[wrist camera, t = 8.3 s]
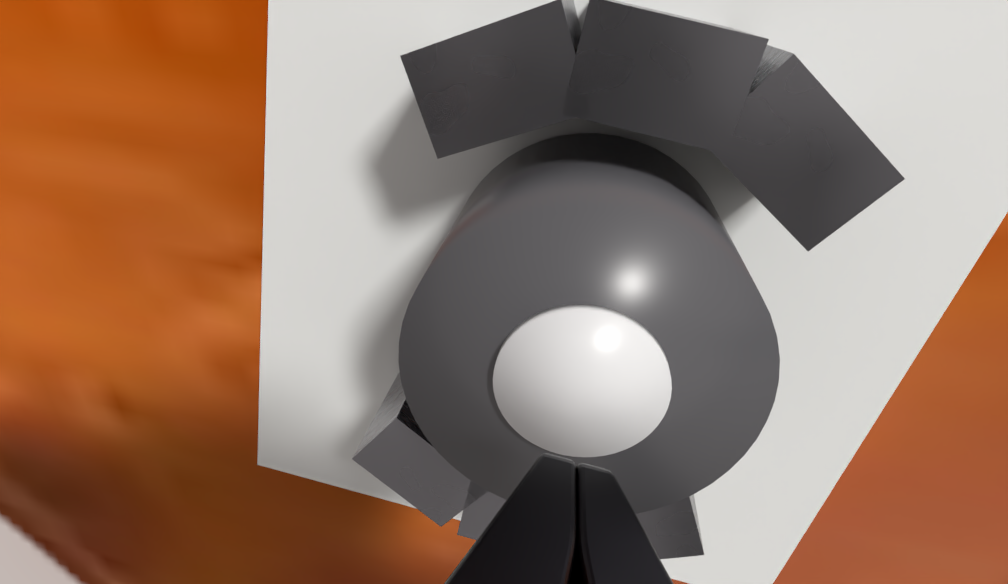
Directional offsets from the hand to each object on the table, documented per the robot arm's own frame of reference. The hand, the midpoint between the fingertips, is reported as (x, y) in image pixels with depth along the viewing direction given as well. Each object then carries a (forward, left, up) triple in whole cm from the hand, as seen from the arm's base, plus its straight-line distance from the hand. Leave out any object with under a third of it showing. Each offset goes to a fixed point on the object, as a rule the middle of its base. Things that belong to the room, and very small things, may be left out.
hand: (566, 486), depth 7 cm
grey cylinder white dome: (0, 0, -6) cm, 6 cm away
